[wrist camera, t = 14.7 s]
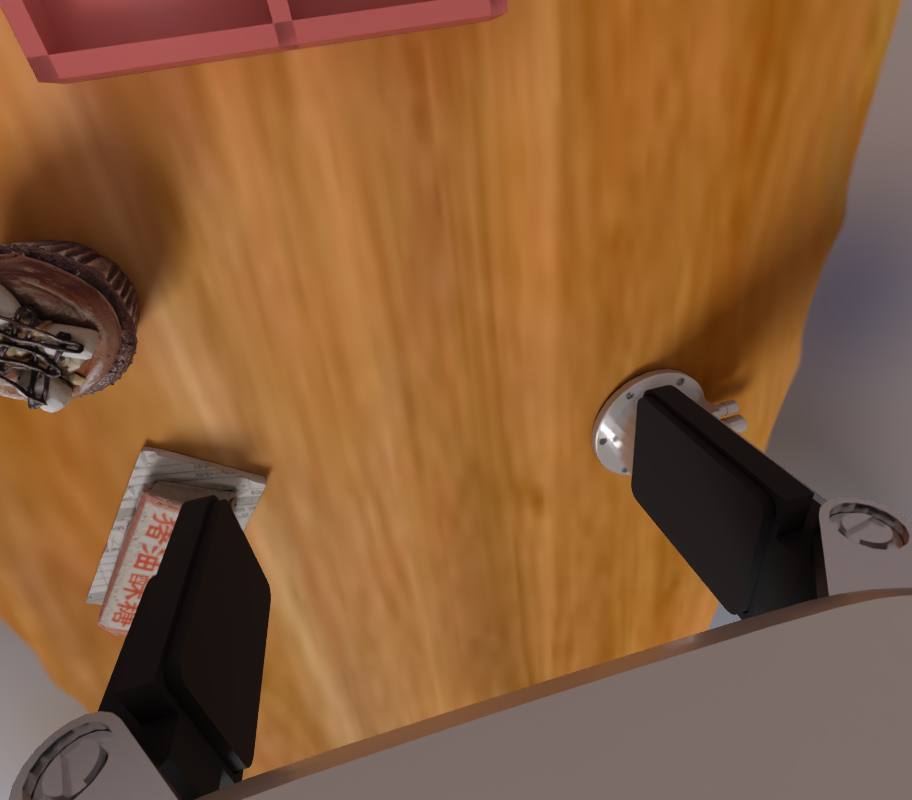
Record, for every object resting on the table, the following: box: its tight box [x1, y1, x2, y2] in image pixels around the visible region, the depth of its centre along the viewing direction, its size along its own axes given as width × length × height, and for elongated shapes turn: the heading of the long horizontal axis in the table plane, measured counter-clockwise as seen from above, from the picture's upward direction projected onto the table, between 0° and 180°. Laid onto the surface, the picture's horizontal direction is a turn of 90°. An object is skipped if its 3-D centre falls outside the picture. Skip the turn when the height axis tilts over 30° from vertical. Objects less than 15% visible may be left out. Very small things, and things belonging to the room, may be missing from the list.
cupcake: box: [0, 240, 139, 413], centre depth 29 cm, size 10×10×10 cm
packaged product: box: [86, 446, 266, 636], centre depth 43 cm, size 18×5×10 cm
